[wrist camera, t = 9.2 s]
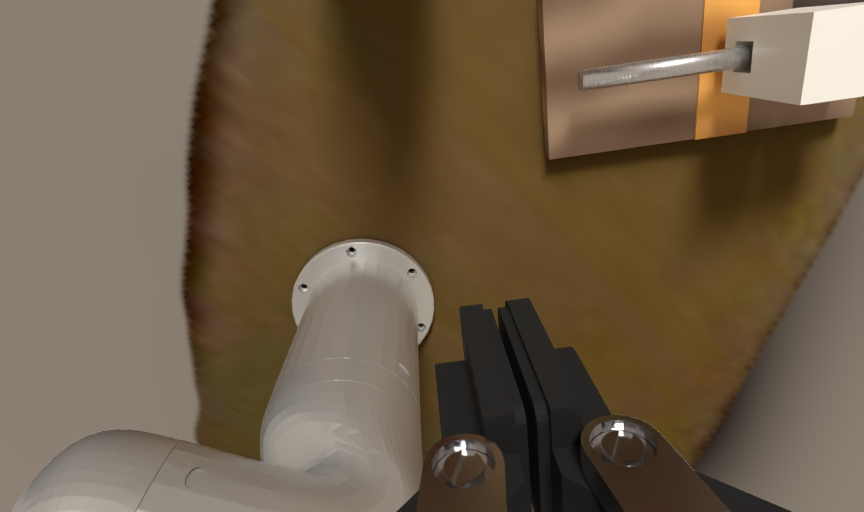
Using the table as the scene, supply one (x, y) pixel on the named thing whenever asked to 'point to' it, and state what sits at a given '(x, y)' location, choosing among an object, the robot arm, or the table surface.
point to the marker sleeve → (799, 54)
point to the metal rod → (665, 68)
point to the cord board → (656, 100)
